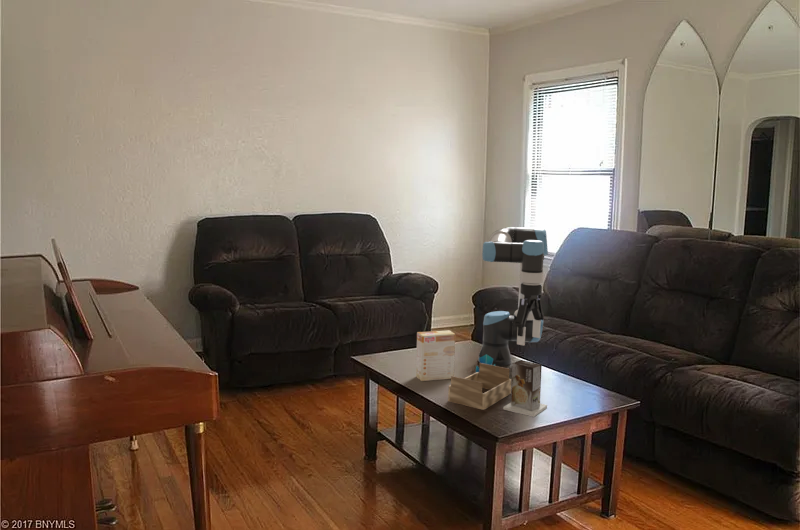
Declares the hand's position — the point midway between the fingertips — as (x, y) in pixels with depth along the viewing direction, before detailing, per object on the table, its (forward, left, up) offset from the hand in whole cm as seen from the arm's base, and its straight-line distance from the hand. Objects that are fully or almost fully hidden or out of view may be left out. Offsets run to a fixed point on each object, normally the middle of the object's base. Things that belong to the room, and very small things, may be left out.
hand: (528, 341), depth 236 cm
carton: (0, -19, -26) cm, 32 cm away
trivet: (0, 0, -26) cm, 26 cm away
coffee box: (0, 0, -25) cm, 25 cm away
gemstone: (-21, -27, -26) cm, 43 cm away
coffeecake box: (-11, -46, -26) cm, 54 cm away
